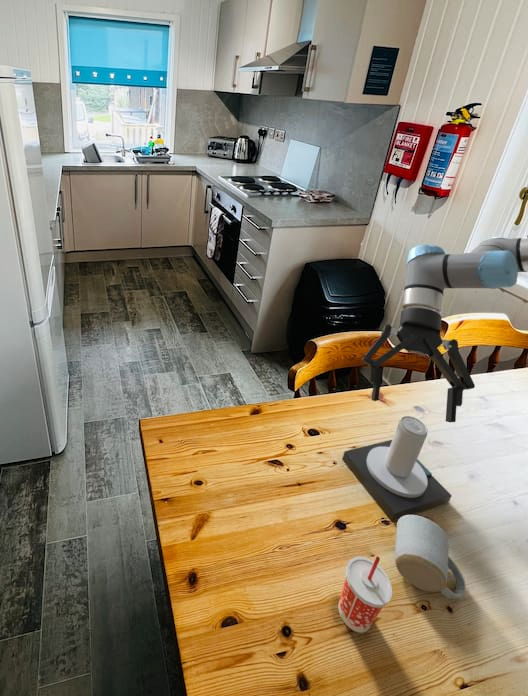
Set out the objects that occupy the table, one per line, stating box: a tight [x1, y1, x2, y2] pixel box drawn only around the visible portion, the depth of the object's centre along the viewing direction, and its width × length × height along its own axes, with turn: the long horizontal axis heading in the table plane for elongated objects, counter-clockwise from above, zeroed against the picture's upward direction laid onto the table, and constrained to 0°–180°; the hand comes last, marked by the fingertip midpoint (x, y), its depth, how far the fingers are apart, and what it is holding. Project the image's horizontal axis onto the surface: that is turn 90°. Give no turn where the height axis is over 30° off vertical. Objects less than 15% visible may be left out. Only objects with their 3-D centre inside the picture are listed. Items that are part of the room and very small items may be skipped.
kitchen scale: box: [341, 439, 452, 522], centre depth 82 cm, size 14×14×3 cm
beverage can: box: [385, 415, 429, 477], centre depth 79 cm, size 5×5×12 cm
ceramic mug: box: [394, 514, 467, 600], centre depth 65 cm, size 11×8×8 cm
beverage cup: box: [337, 556, 393, 634], centre depth 58 cm, size 6×6×14 cm
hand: (411, 410), depth 80 cm, fingers open, 13 cm apart
